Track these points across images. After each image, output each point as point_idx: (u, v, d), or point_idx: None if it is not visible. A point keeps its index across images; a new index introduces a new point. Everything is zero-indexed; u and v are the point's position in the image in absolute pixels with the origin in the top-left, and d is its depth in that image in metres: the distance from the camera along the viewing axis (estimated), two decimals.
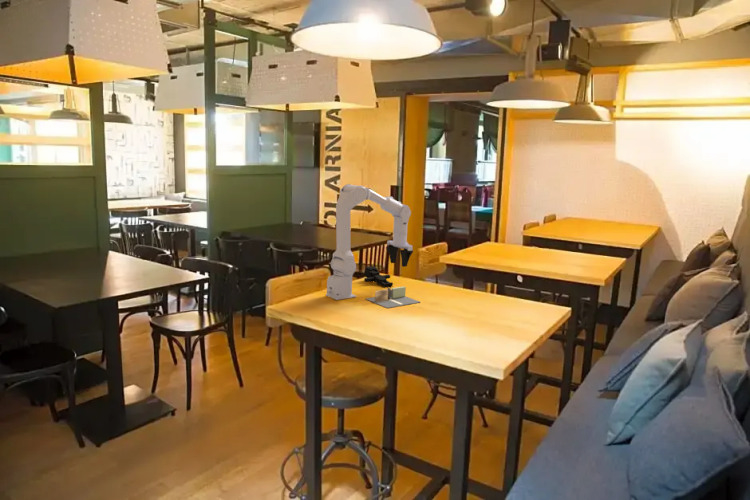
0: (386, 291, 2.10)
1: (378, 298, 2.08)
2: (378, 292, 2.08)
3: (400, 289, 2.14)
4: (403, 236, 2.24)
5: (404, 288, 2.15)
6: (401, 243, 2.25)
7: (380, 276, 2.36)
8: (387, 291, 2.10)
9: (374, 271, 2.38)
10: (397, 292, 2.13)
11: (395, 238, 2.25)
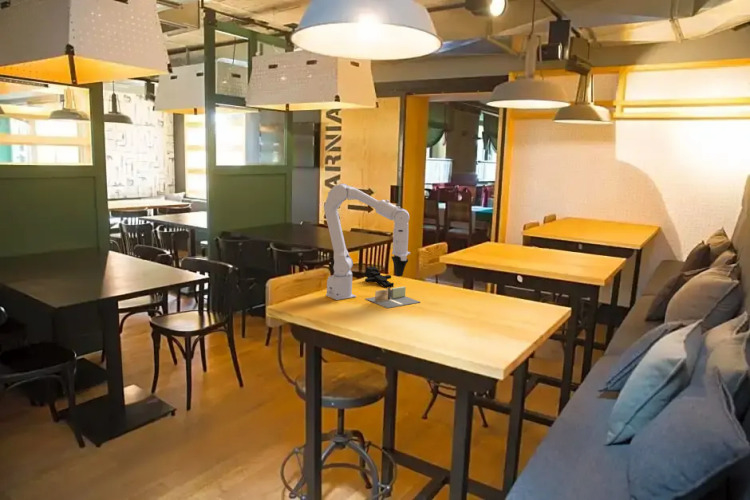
0: (386, 291, 2.10)
1: (378, 298, 2.08)
2: (378, 292, 2.08)
3: (400, 289, 2.14)
4: (400, 244, 2.05)
5: (404, 288, 2.15)
6: (398, 252, 2.06)
7: (381, 276, 2.36)
8: (387, 291, 2.10)
9: (375, 271, 2.38)
10: (397, 292, 2.13)
11: (393, 246, 2.07)
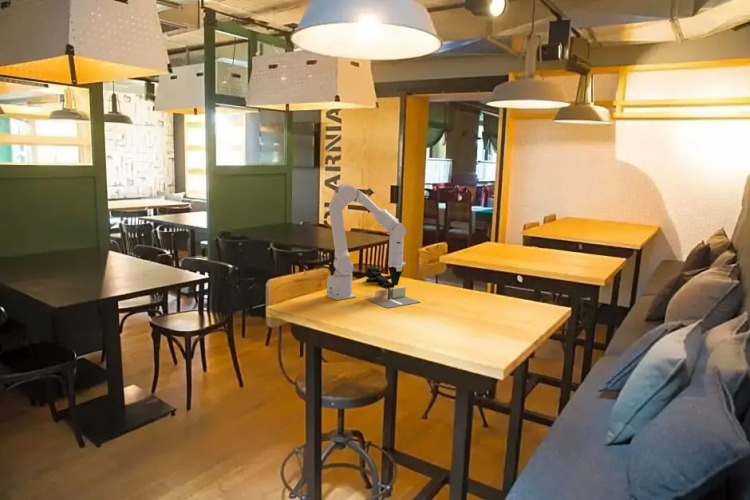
0: (386, 291, 2.10)
1: (378, 298, 2.08)
2: (378, 292, 2.08)
3: (400, 289, 2.14)
4: (396, 256, 2.14)
5: (404, 288, 2.15)
6: (394, 263, 2.15)
7: (382, 277, 2.35)
8: (387, 291, 2.10)
9: (376, 272, 2.38)
10: (397, 292, 2.13)
11: (389, 257, 2.16)
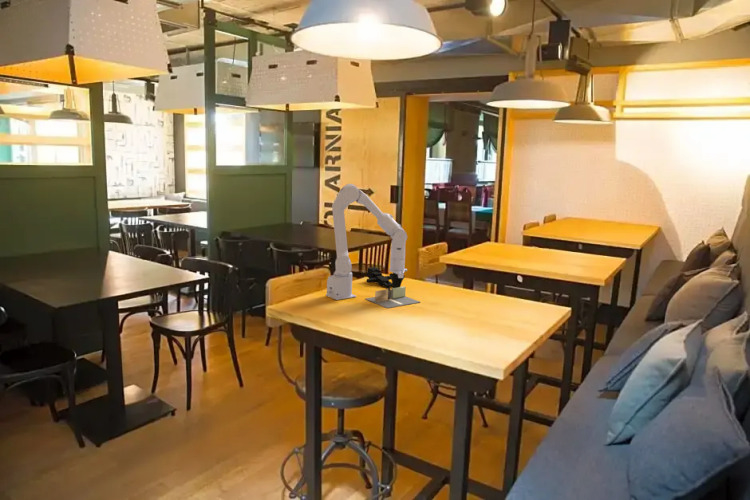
0: (386, 291, 2.10)
1: (378, 298, 2.08)
2: (378, 292, 2.08)
3: (400, 289, 2.14)
4: (397, 262, 2.11)
5: (404, 288, 2.15)
6: (395, 269, 2.12)
7: (382, 277, 2.35)
8: (387, 291, 2.10)
9: (376, 272, 2.37)
10: (397, 292, 2.13)
11: (390, 263, 2.13)
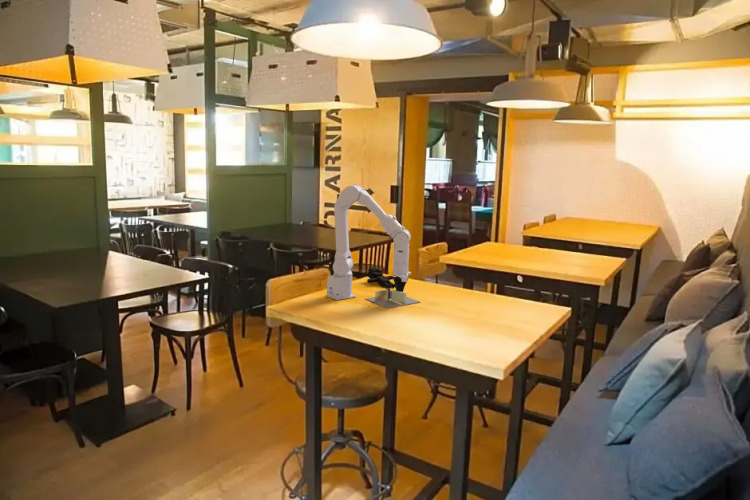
0: (386, 291, 2.10)
1: (378, 298, 2.08)
2: (378, 292, 2.08)
3: (399, 293, 2.07)
4: (401, 265, 2.05)
5: (403, 294, 2.06)
6: (399, 272, 2.06)
7: (383, 277, 2.35)
8: (387, 291, 2.10)
9: (377, 272, 2.37)
10: (396, 295, 2.09)
11: (394, 266, 2.07)
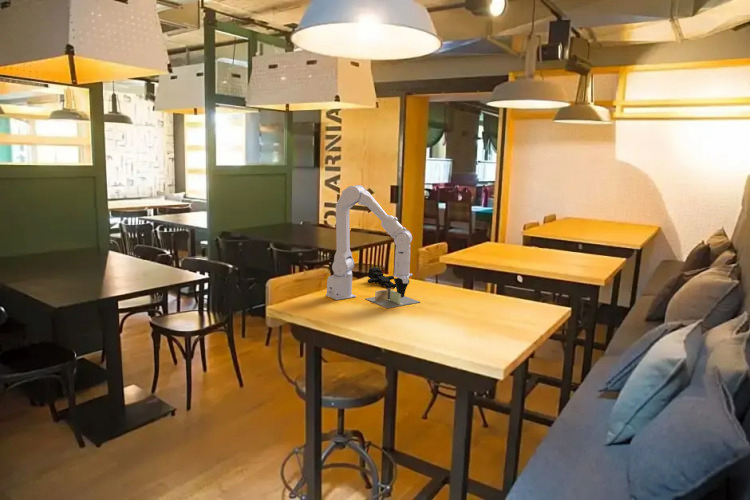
0: (386, 291, 2.10)
1: (378, 298, 2.08)
2: (378, 292, 2.08)
3: (395, 294, 2.06)
4: (402, 266, 2.03)
5: (397, 295, 2.05)
6: (400, 274, 2.04)
7: (384, 277, 2.34)
8: (387, 291, 2.10)
9: (378, 272, 2.37)
10: (392, 296, 2.08)
11: (395, 268, 2.05)
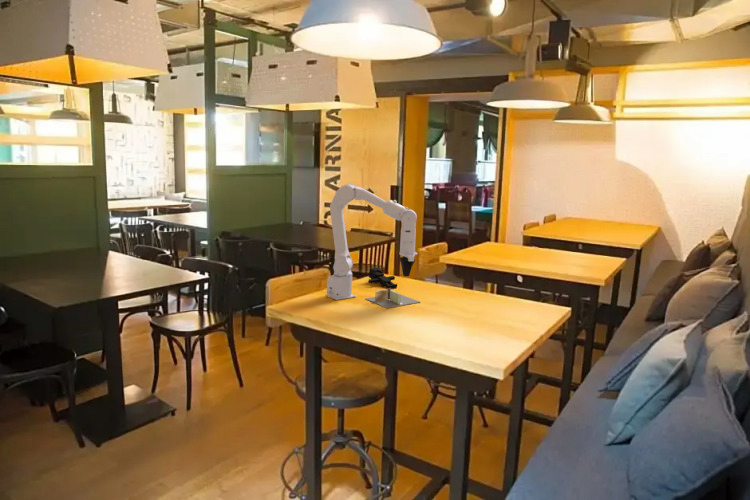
0: (386, 291, 2.10)
1: (378, 298, 2.08)
2: (378, 292, 2.08)
3: (394, 294, 2.06)
4: (408, 245, 2.05)
5: (397, 295, 2.05)
6: (405, 252, 2.05)
7: (384, 277, 2.34)
8: (387, 291, 2.10)
9: (378, 272, 2.36)
10: (392, 296, 2.08)
11: (400, 246, 2.07)
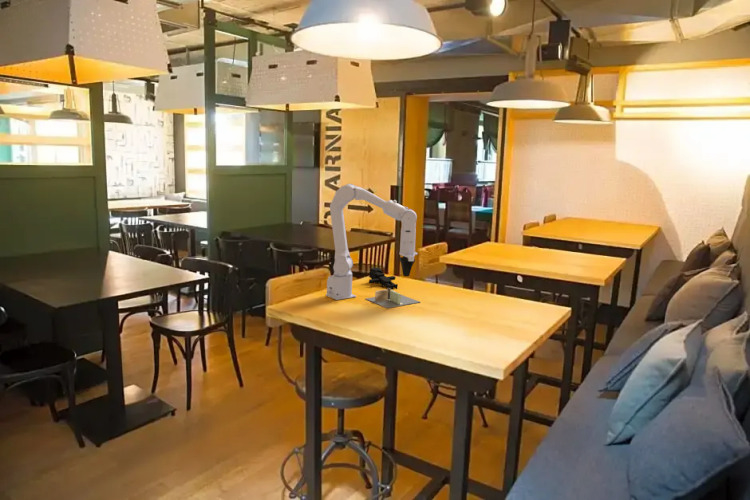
0: (386, 291, 2.10)
1: (378, 298, 2.08)
2: (378, 292, 2.08)
3: (394, 294, 2.06)
4: (408, 245, 2.05)
5: (397, 295, 2.05)
6: (405, 252, 2.05)
7: (385, 277, 2.34)
8: (387, 291, 2.10)
9: (379, 272, 2.36)
10: (392, 296, 2.08)
11: (400, 246, 2.07)
